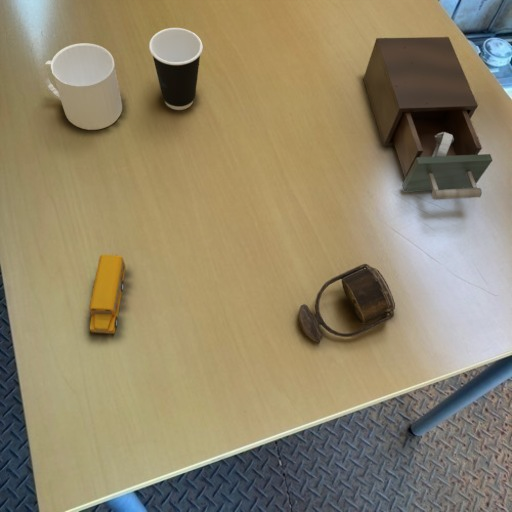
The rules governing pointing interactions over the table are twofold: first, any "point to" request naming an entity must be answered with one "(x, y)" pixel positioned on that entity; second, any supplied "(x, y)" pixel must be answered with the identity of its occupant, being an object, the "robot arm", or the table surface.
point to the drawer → (440, 167)
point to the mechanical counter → (354, 301)
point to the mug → (85, 85)
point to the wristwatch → (442, 144)
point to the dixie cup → (176, 65)
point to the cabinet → (414, 80)
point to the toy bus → (107, 294)
